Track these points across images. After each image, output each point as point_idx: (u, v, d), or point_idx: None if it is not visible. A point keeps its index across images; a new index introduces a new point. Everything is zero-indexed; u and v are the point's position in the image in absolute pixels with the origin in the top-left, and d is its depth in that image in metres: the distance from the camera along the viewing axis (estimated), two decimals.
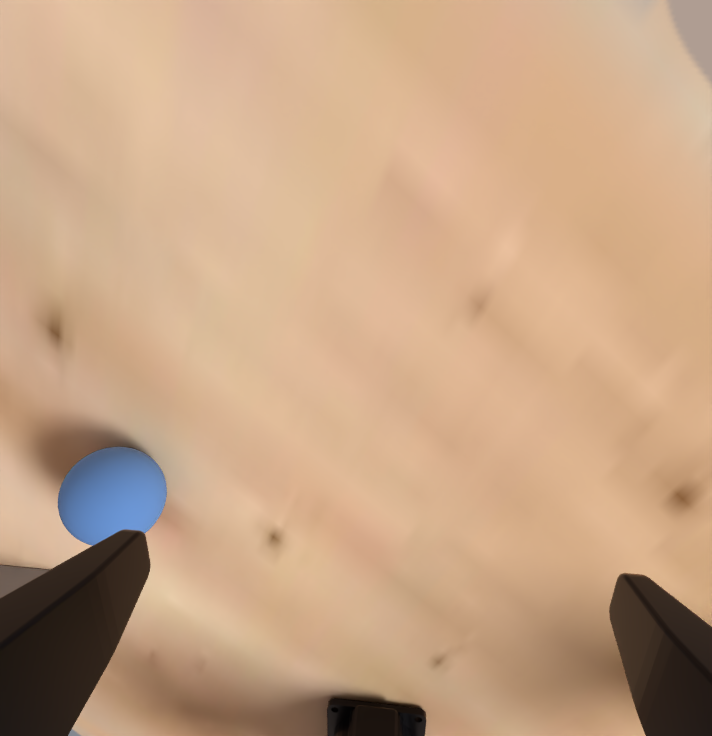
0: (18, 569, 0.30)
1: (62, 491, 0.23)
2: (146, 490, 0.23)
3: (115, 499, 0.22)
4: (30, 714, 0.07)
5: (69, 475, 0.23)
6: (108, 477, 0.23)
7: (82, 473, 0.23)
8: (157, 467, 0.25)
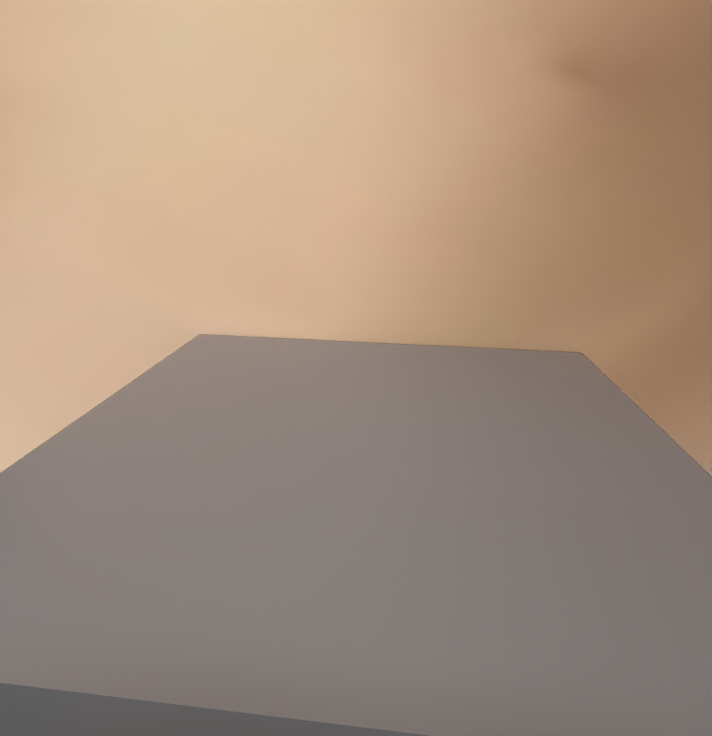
0: None
1: None
2: None
3: None
4: None
5: None
6: None
7: None
8: None
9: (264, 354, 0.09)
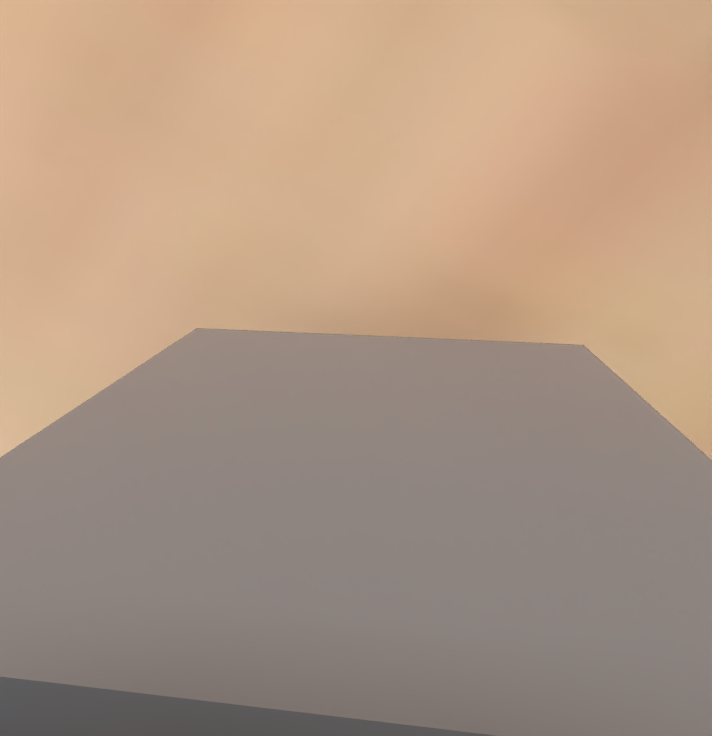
0: None
1: None
2: None
3: None
4: None
5: None
6: None
7: None
8: None
9: (261, 347, 0.09)
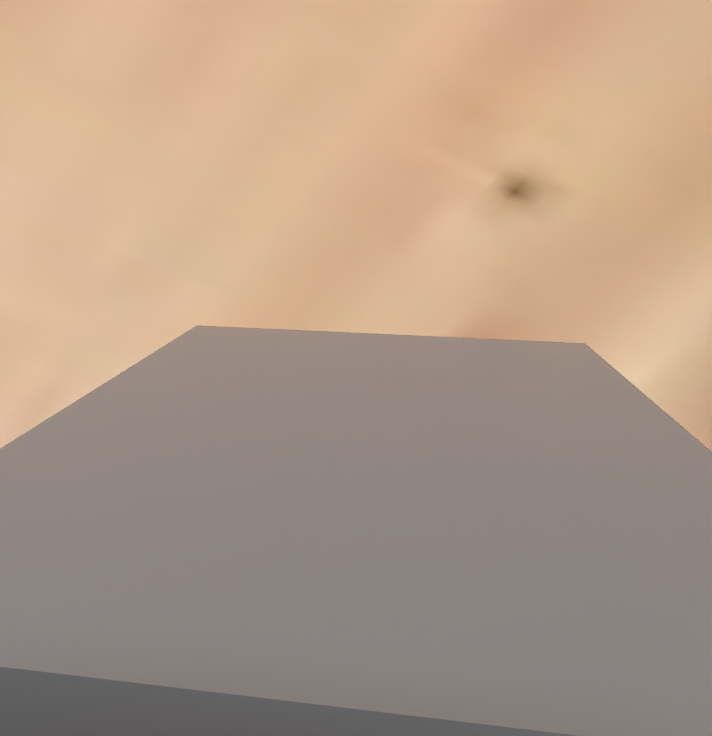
0: None
1: None
2: None
3: None
4: None
5: None
6: None
7: None
8: None
9: (262, 344, 0.09)
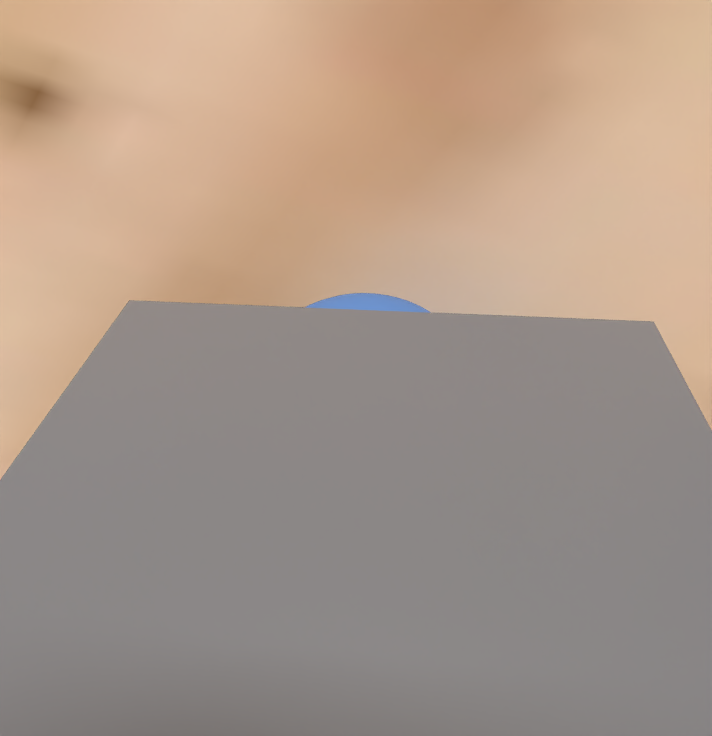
0: None
1: (309, 305, 0.09)
2: None
3: None
4: None
5: None
6: None
7: None
8: None
9: (214, 351, 0.06)
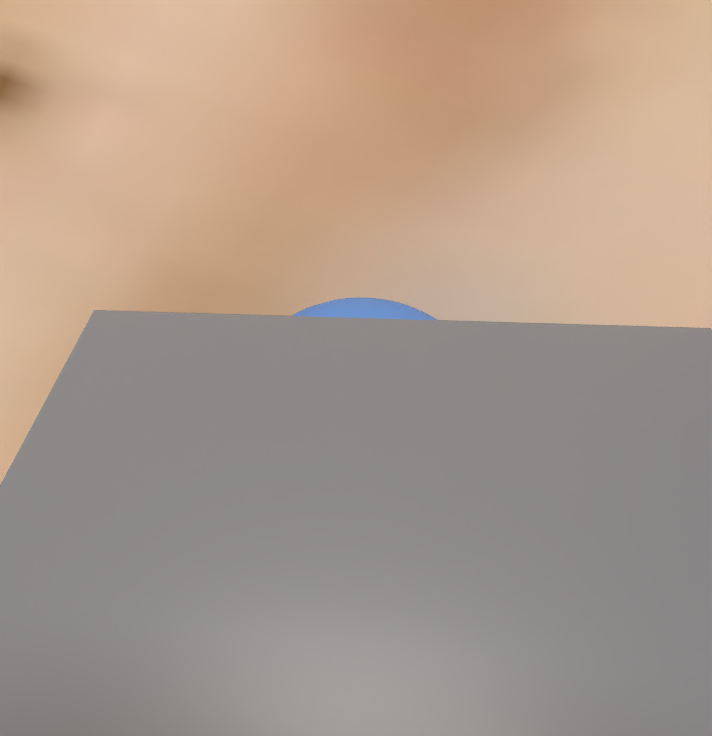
0: None
1: (301, 311, 0.08)
2: None
3: None
4: None
5: None
6: None
7: None
8: None
9: (203, 379, 0.05)
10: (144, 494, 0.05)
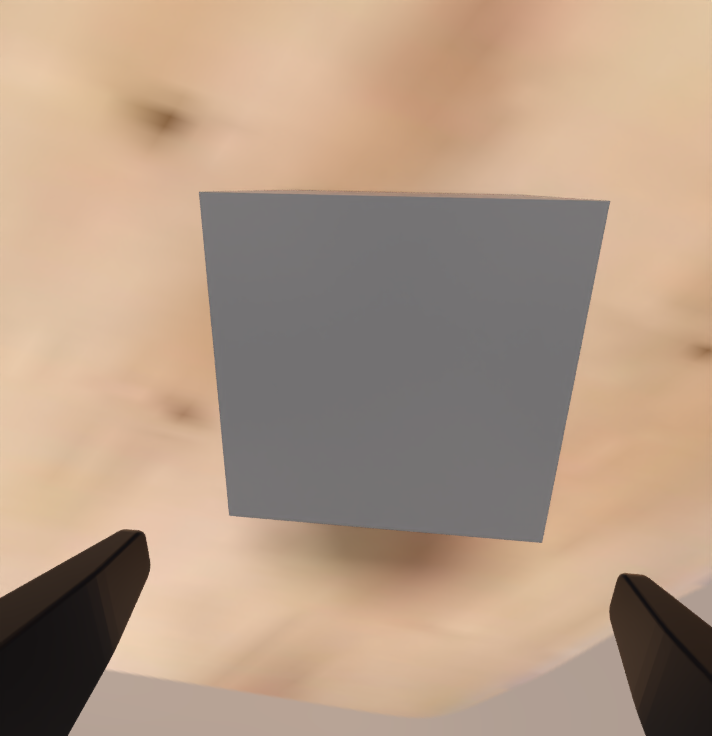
0: None
1: None
2: None
3: None
4: (30, 714, 0.07)
5: None
6: None
7: None
8: None
9: None
10: (317, 191, 0.14)
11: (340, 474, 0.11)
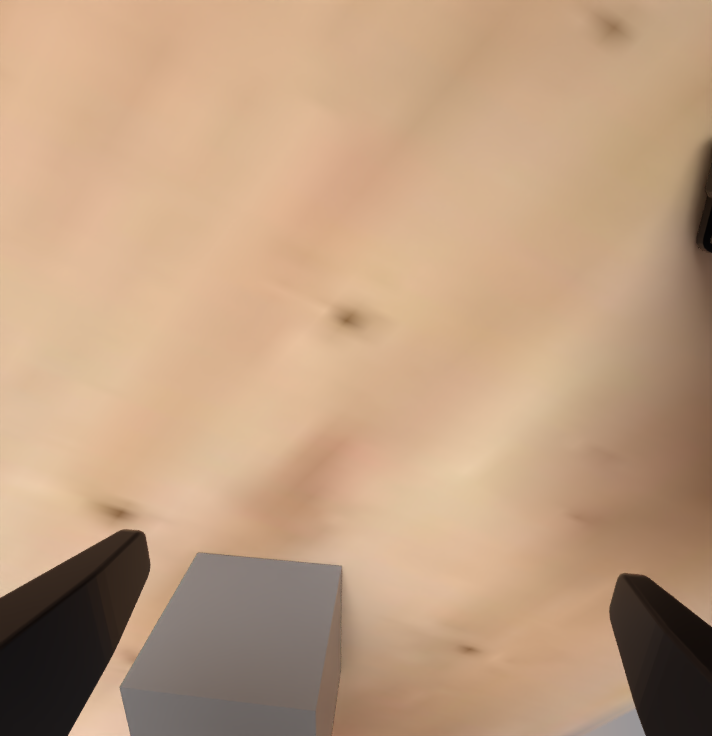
0: None
1: None
2: None
3: None
4: (30, 714, 0.07)
5: None
6: None
7: None
8: None
9: (221, 570, 0.24)
10: (206, 591, 0.23)
11: None
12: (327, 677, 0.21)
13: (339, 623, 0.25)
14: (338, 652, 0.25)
